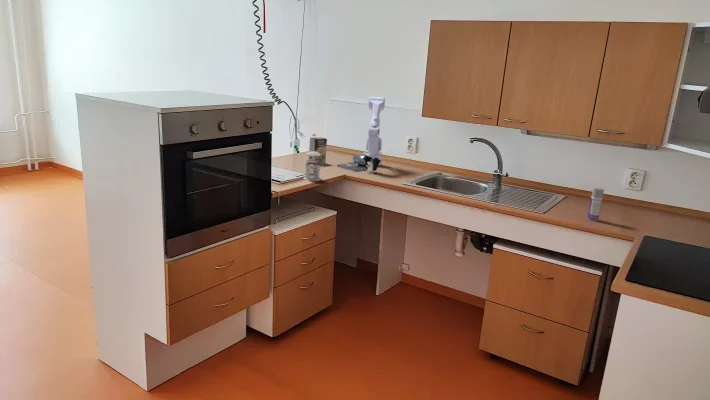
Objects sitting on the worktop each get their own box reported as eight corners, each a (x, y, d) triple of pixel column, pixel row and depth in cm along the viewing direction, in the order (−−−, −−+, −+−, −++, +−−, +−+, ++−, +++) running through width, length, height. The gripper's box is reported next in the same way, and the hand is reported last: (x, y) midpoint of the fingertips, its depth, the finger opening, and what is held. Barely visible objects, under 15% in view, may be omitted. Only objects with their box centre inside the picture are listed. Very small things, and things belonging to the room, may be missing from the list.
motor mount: (357, 164, 339) (358, 153, 337) (376, 168, 327) (377, 157, 325) (336, 166, 327) (337, 155, 325) (355, 171, 315) (356, 159, 313)
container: (589, 217, 246) (594, 186, 242) (599, 219, 243) (605, 188, 239) (586, 219, 242) (591, 188, 238) (596, 221, 239) (602, 190, 235)
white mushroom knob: (371, 170, 320) (371, 161, 319) (377, 172, 316) (378, 162, 315) (362, 171, 315) (363, 162, 314) (369, 173, 311) (369, 163, 310)
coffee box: (314, 164, 328) (315, 139, 324) (308, 162, 332) (309, 137, 328) (325, 163, 333) (327, 138, 329) (320, 161, 338) (321, 137, 334)
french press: (299, 177, 290) (301, 132, 283) (317, 175, 297) (319, 132, 290) (309, 181, 282) (311, 135, 276) (327, 179, 289) (329, 134, 283)
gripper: (359, 145, 315) (358, 167, 318) (376, 149, 305) (375, 172, 308) (368, 145, 320) (366, 166, 323) (385, 148, 310) (383, 171, 313)
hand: (371, 169), depth 316 cm, fingers closed on white mushroom knob, 5 cm apart
